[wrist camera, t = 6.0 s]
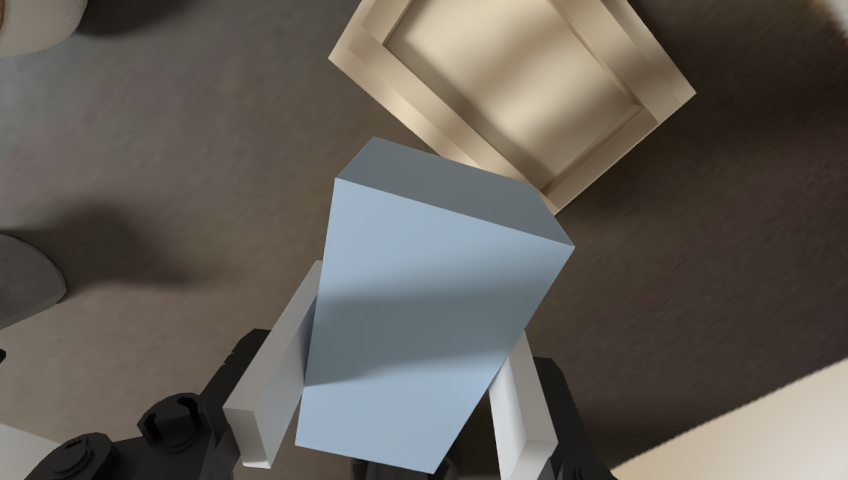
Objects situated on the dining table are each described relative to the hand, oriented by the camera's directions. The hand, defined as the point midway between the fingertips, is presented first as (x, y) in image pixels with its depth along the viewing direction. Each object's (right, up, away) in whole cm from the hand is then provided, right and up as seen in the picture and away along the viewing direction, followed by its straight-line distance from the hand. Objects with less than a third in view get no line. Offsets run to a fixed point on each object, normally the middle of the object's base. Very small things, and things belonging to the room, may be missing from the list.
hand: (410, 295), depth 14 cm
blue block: (0, 0, 0) cm, 1 cm away
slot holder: (+6, +14, +8) cm, 17 cm away
